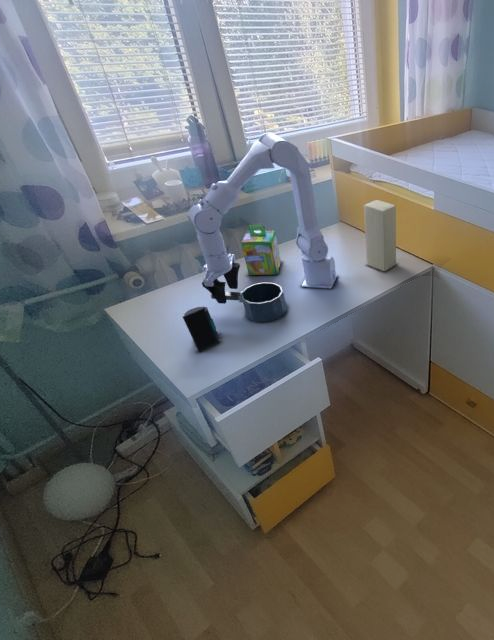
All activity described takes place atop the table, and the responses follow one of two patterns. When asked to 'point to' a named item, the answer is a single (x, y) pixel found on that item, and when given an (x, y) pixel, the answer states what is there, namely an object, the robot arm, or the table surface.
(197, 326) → the speaker
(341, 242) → the table surface
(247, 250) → the chalk box
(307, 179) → the robot arm
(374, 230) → the tall cream block
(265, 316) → the saucepan
